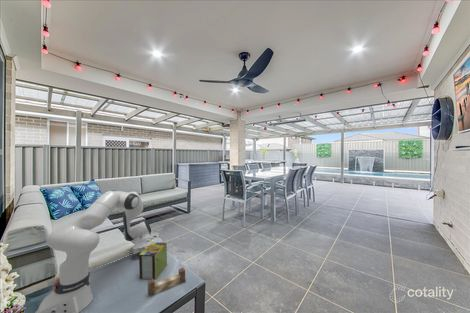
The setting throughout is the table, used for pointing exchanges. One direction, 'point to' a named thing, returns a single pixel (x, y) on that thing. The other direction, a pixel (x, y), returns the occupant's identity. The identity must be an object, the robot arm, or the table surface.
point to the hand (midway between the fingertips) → (149, 250)
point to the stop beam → (166, 283)
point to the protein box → (153, 260)
